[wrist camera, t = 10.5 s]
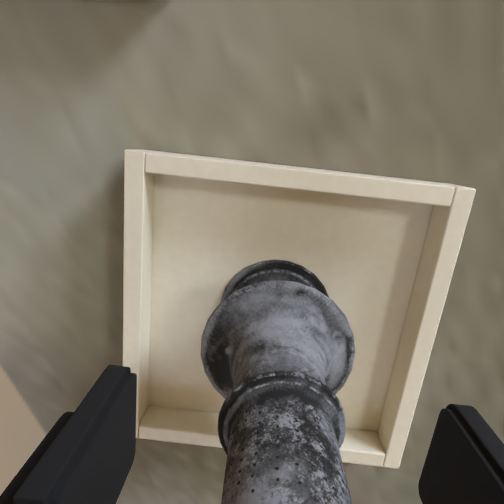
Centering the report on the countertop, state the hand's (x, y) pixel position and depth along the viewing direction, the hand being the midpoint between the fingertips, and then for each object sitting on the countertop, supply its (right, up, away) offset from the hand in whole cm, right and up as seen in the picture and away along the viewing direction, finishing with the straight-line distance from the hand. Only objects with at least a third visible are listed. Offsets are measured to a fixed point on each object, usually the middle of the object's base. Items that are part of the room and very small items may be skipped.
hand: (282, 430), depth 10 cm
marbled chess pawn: (0, +2, +7) cm, 8 cm away
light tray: (0, +2, +8) cm, 8 cm away
